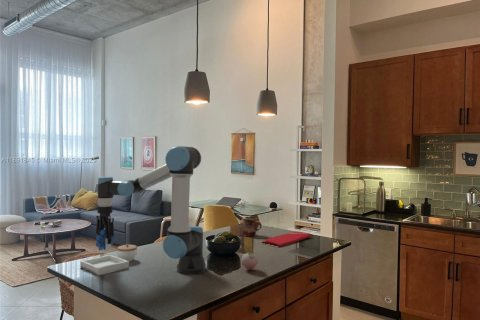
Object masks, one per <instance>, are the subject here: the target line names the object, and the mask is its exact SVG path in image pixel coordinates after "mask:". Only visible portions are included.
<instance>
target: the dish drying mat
mask: <svg viewBox="0 0 480 320" xmlns="http://www.w3.org/2000/svg"><path fill="white" fill-rule="evenodd" d="M310 237H312V234H311V233H309V232H304V231H303V232H302V231H292V232H291V231H290V232H288V233H284V234H281V235H277V236H274V237H270V238H267V239H265V240H263V241H261V244H262V243H265V244H264V245H266V244H270V245H269V246H271V245H274V246H273V247H275V246H278V247H277V248H280V247H281V246H282V247H284V245H285V246H287V245H290V244H293V243H294V242H295V243H297V242H300V241H303V240H306V239H308V238H310ZM282 247H281V248H282Z"/></svg>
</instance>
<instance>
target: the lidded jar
mask: <svg viewBox="0 0 480 320" xmlns="http://www.w3.org/2000/svg"><path fill="white" fill-rule="evenodd" d="M116 249H117V257H118V258H121V259H124V260H127V261H129V262H133V260H134V259H135V258H136V256H137V253H138V252H137V251H138V246H137V245H135V244H129V243H126V244H123V245H119V246H118V247H117V248H116Z"/></svg>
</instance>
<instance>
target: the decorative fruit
mask: <svg viewBox="0 0 480 320" xmlns="http://www.w3.org/2000/svg"><path fill="white" fill-rule="evenodd" d="M240 261H241V265H242V266H243V267H244V268H245V269H247V270H249V271H251V270H253V269H254V268H256V267H257V265H258V261H259V258H258V257H257V256H256V255H255V254H254V253H252V252H251V251H247V252H246V253H244V254H243V255H242V257H241V260H240Z"/></svg>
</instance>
